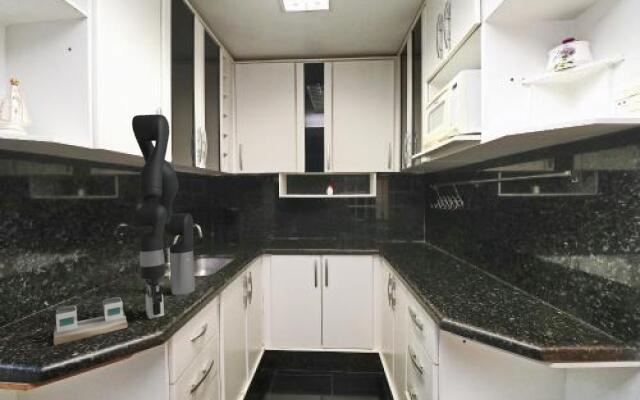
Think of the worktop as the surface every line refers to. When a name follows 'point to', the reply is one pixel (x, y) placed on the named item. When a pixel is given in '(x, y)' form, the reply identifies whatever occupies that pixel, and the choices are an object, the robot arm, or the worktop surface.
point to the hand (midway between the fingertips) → (155, 311)
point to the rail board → (88, 322)
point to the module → (150, 307)
